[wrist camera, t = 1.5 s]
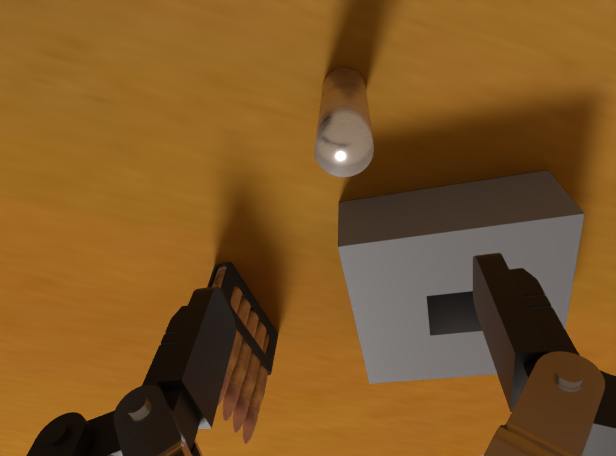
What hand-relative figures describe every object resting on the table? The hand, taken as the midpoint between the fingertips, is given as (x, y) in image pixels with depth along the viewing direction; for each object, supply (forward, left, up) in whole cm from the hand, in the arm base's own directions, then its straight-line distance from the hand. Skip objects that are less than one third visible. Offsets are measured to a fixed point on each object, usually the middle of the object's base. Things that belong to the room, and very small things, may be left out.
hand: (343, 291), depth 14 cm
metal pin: (0, 0, -20) cm, 20 cm away
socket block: (+6, -17, -20) cm, 27 cm away
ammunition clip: (-13, -19, -20) cm, 31 cm away
